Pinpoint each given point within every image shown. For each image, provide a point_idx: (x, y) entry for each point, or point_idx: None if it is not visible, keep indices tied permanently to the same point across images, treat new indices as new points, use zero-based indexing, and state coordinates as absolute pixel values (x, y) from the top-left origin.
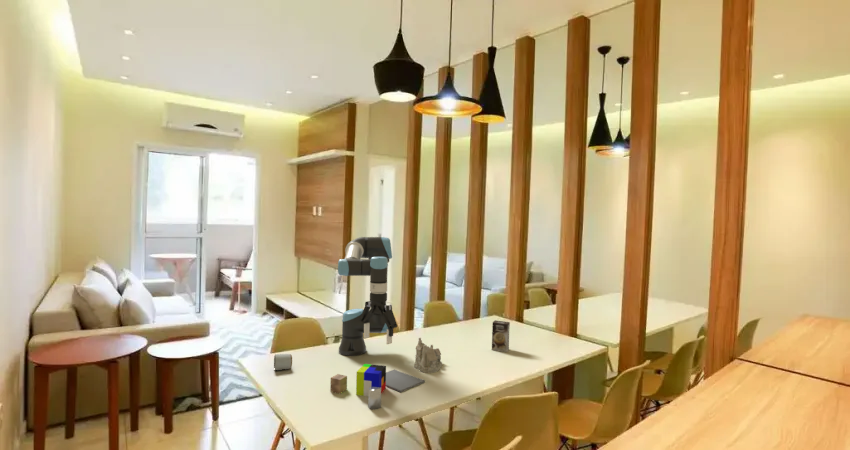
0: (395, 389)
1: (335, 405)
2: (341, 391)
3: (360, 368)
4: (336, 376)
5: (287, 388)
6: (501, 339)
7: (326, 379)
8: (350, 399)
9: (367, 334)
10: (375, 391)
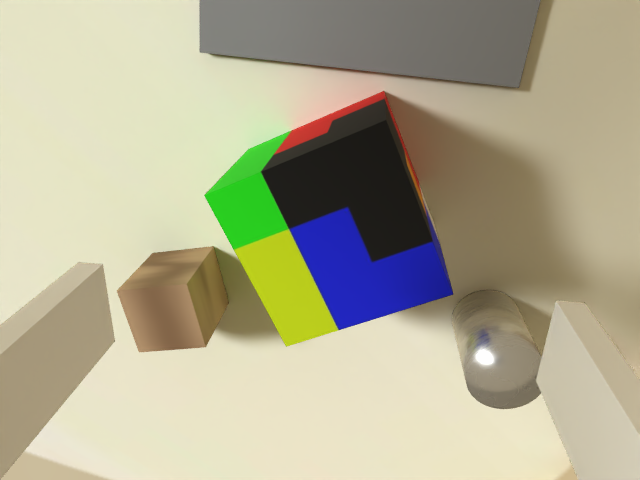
0: (465, 80)
1: (315, 396)
2: (223, 293)
3: (259, 288)
4: (146, 322)
5: None
6: None
7: (13, 211)
8: None
9: (80, 326)
10: (529, 397)
